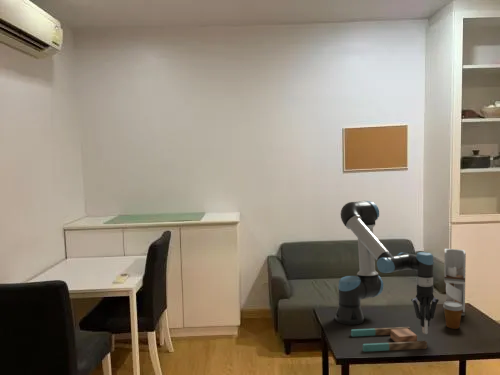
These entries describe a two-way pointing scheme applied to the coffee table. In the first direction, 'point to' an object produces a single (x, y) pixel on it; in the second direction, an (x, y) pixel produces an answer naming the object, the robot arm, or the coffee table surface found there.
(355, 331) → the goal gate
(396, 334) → the wooden block
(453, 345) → the coffee table surface
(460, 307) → the disposable coffee cup
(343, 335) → the coffee table surface
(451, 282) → the white open shelf
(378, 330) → the lane walls
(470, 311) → the coffee table surface
